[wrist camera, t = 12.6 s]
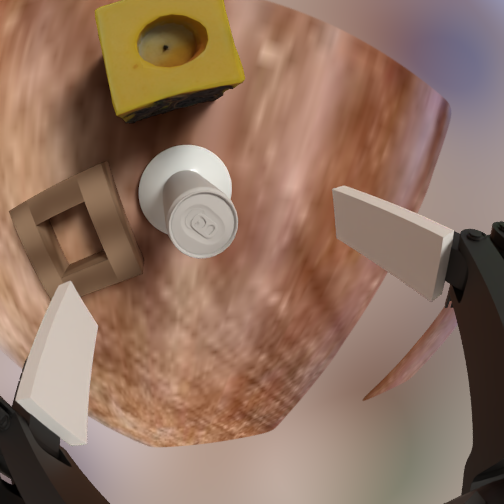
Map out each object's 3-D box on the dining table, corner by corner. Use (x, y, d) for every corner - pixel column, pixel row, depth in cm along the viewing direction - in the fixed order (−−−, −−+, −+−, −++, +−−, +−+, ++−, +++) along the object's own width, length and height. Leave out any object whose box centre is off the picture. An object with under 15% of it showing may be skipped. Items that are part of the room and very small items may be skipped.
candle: (109, 46, 19) (90, 8, 10) (200, 22, 21) (220, -22, 12) (127, 127, 24) (109, 119, 15) (219, 99, 25) (248, 81, 17)
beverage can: (182, 160, 26) (199, 172, 16) (216, 188, 28) (254, 218, 18) (153, 196, 26) (151, 234, 16) (188, 222, 29) (208, 273, 18)
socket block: (22, 203, 22) (8, 211, 19) (107, 160, 24) (100, 163, 21) (62, 290, 27) (54, 306, 24) (143, 260, 30) (142, 273, 27)
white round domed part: (127, 162, 25) (126, 163, 24) (217, 133, 27) (219, 133, 26) (156, 246, 30) (156, 249, 29) (238, 218, 31) (240, 220, 31)
